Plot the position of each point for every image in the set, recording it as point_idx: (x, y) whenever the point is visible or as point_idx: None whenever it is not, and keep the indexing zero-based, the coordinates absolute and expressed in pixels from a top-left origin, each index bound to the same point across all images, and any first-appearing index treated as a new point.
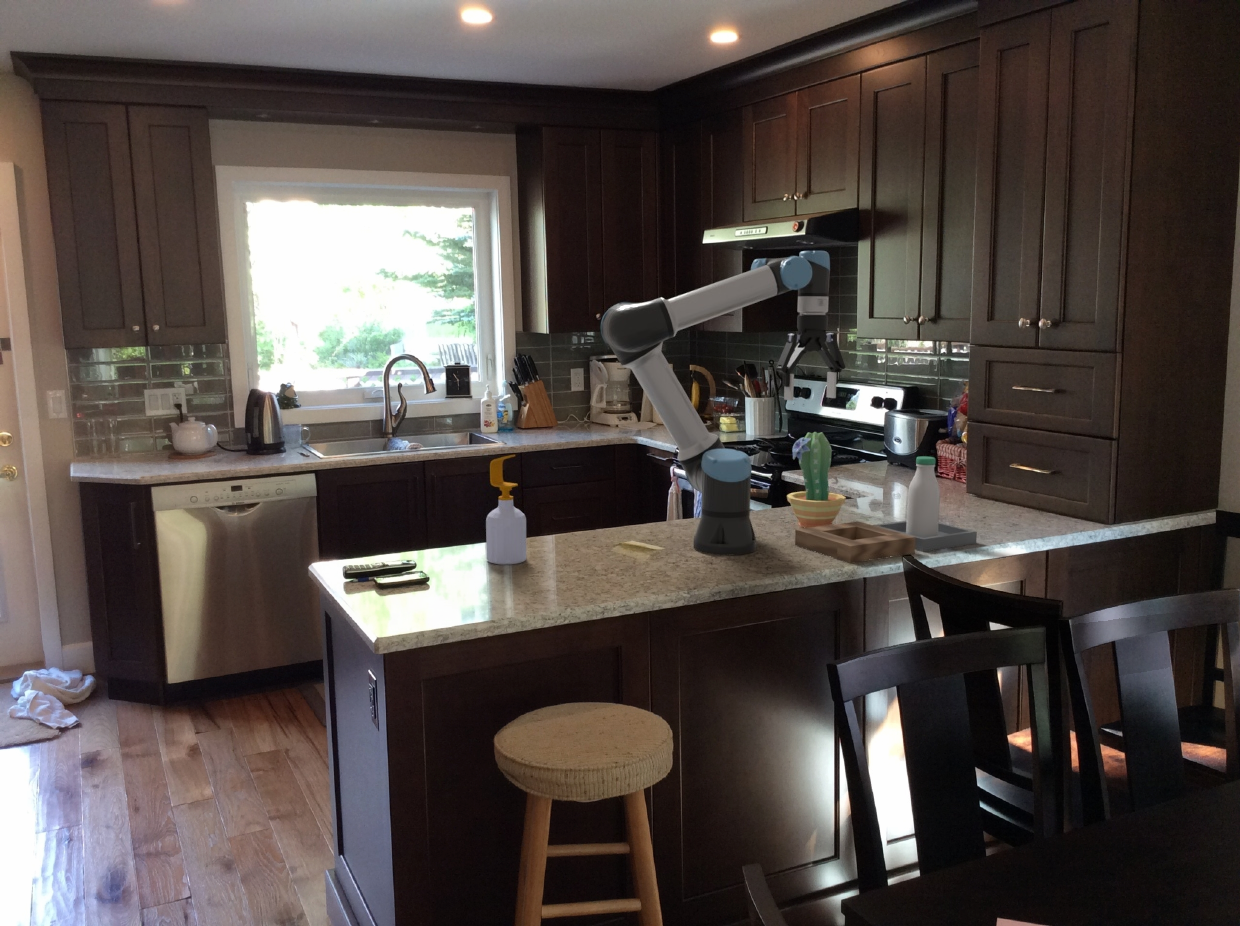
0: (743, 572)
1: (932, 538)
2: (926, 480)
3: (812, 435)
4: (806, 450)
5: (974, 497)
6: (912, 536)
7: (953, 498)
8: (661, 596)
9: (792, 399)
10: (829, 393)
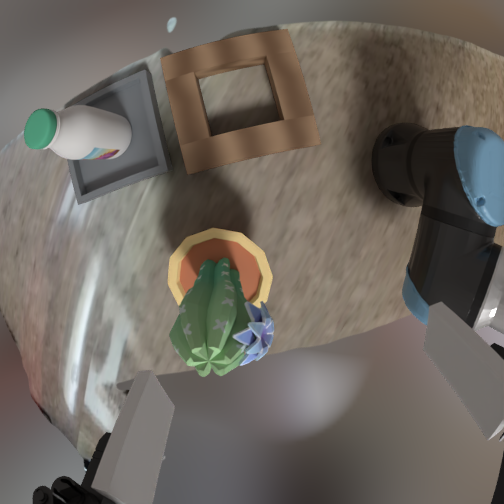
0: (417, 61)
1: (128, 76)
2: (69, 109)
3: (219, 355)
4: (253, 306)
5: (16, 338)
6: (162, 60)
7: (30, 343)
8: (478, 47)
9: (435, 306)
10: (160, 408)
